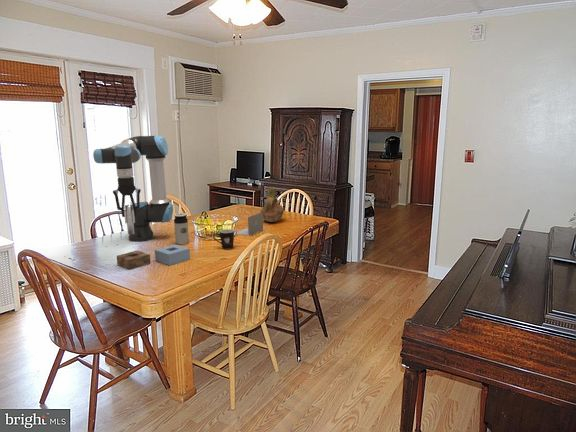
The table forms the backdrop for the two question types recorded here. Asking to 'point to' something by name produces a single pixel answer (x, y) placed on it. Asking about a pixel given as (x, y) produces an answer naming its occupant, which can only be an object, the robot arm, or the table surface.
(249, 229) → the laptop
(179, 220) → the travel mug
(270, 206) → the ceramic vessel
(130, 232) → the pin
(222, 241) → the coffee mug
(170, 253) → the socket block
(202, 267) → the table surface
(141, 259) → the block
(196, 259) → the table surface
